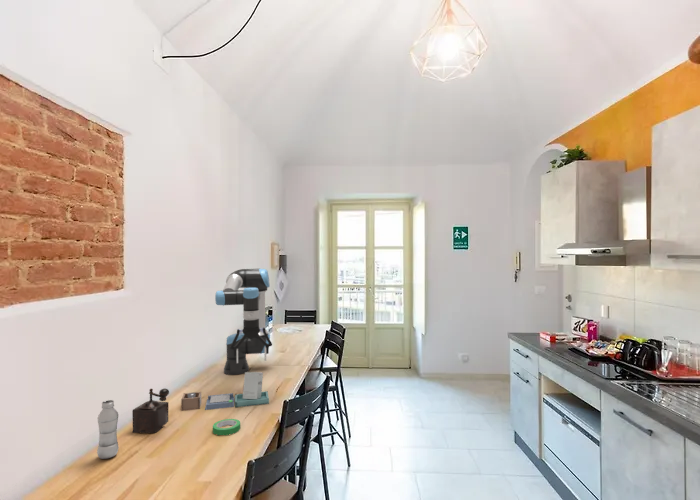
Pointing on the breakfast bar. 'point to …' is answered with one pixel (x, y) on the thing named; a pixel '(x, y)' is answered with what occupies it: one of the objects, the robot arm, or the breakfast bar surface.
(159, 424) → the manual coffee grinder
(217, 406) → the base
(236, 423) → the tape roll
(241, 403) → the teal shallow tray
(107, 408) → the plastic bottle
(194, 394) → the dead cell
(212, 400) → the checker plate
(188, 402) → the brown open box
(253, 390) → the supplement box
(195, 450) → the breakfast bar surface
